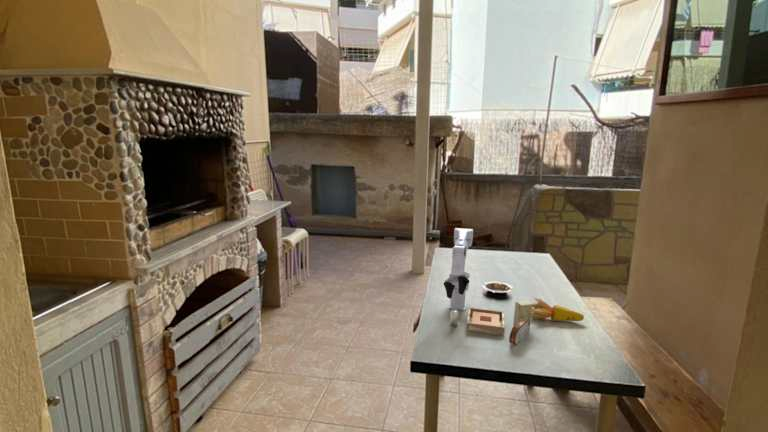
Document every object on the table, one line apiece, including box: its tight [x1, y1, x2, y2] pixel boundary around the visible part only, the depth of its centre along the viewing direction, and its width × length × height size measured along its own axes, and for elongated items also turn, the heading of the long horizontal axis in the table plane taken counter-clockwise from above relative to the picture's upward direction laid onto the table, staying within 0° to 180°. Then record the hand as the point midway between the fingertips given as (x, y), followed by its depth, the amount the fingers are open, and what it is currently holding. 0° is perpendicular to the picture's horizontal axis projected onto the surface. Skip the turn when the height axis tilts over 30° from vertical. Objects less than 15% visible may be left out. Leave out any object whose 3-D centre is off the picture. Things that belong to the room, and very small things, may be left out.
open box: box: [466, 306, 505, 337], centre depth 188 cm, size 16×16×4 cm
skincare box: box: [512, 299, 533, 330], centre depth 185 cm, size 6×4×12 cm
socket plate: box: [472, 311, 499, 326], centre depth 189 cm, size 12×12×2 cm
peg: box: [449, 309, 459, 328], centre depth 188 cm, size 4×4×7 cm
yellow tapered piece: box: [531, 297, 585, 322], centre depth 194 cm, size 8×8×25 cm
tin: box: [508, 318, 528, 346], centre depth 175 cm, size 15×3×8 cm, turn 141°
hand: (454, 295), depth 184 cm, fingers open, 7 cm apart
